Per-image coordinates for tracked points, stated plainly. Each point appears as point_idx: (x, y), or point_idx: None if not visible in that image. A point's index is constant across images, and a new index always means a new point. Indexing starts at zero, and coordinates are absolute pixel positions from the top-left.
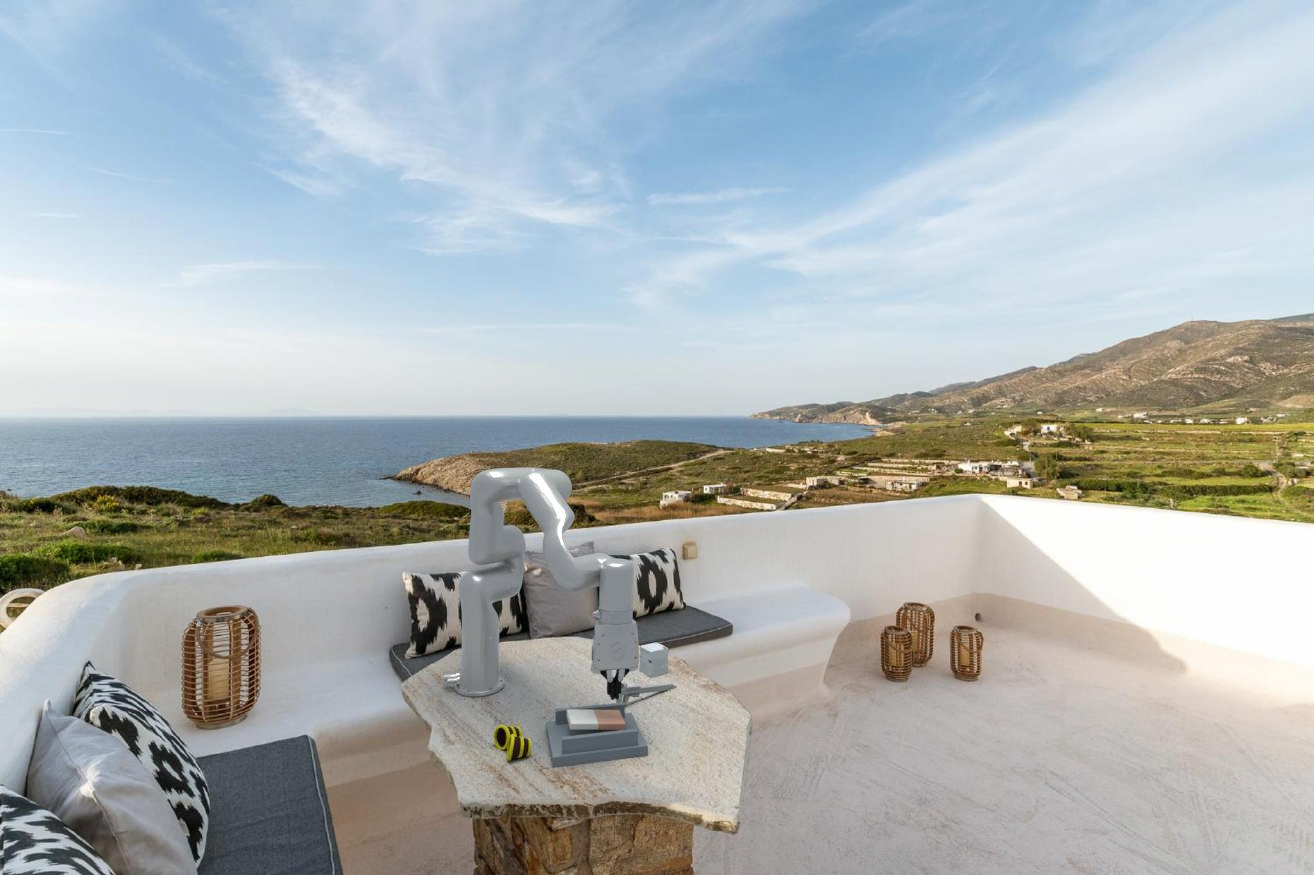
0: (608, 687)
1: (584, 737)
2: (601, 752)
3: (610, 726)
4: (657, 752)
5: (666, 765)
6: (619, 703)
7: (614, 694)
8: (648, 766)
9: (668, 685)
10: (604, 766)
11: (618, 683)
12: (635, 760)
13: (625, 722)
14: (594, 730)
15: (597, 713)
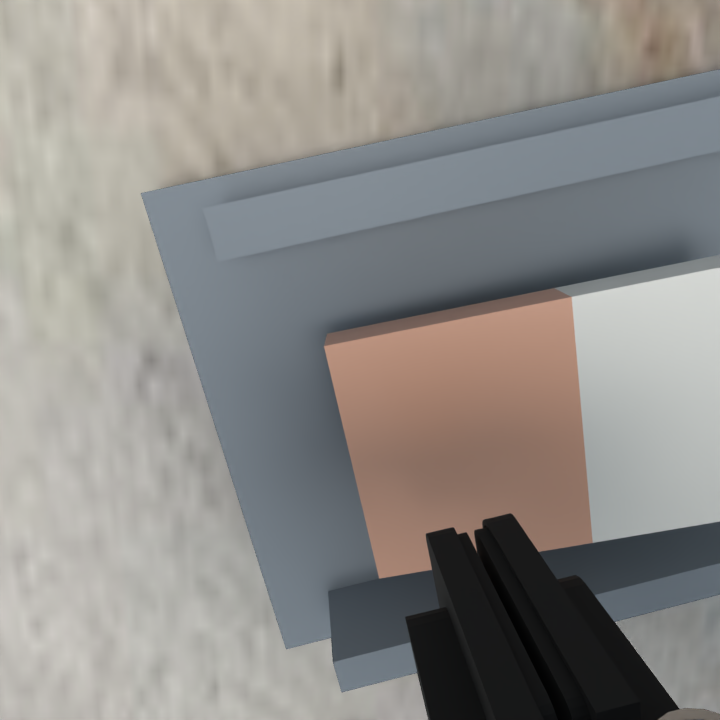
0: (629, 647)
1: (692, 102)
2: (494, 119)
3: (455, 314)
4: (93, 236)
5: (8, 45)
6: (375, 673)
7: (500, 564)
8: (145, 38)
9: None
10: (455, 58)
11: (506, 708)
12: (244, 131)
13: (322, 528)
14: None
15: (564, 487)
